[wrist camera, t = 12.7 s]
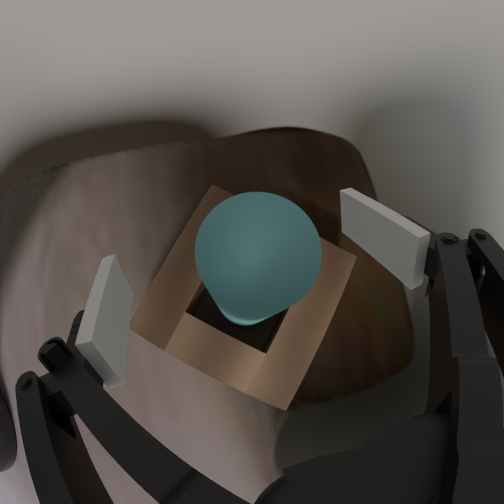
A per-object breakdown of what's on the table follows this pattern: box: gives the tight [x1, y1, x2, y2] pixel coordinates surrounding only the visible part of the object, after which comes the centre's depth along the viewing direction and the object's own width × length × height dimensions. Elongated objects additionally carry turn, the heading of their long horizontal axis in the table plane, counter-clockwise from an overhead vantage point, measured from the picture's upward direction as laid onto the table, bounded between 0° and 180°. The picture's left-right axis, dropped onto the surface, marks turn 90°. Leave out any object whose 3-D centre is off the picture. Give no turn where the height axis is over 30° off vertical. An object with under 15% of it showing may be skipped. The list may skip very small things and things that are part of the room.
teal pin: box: [195, 192, 322, 326], centre depth 16 cm, size 4×4×14 cm
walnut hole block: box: [130, 185, 357, 411], centre depth 21 cm, size 12×12×4 cm
